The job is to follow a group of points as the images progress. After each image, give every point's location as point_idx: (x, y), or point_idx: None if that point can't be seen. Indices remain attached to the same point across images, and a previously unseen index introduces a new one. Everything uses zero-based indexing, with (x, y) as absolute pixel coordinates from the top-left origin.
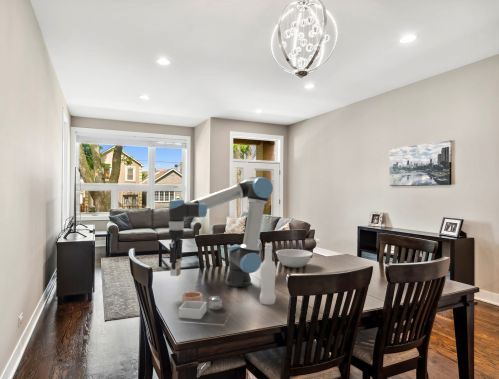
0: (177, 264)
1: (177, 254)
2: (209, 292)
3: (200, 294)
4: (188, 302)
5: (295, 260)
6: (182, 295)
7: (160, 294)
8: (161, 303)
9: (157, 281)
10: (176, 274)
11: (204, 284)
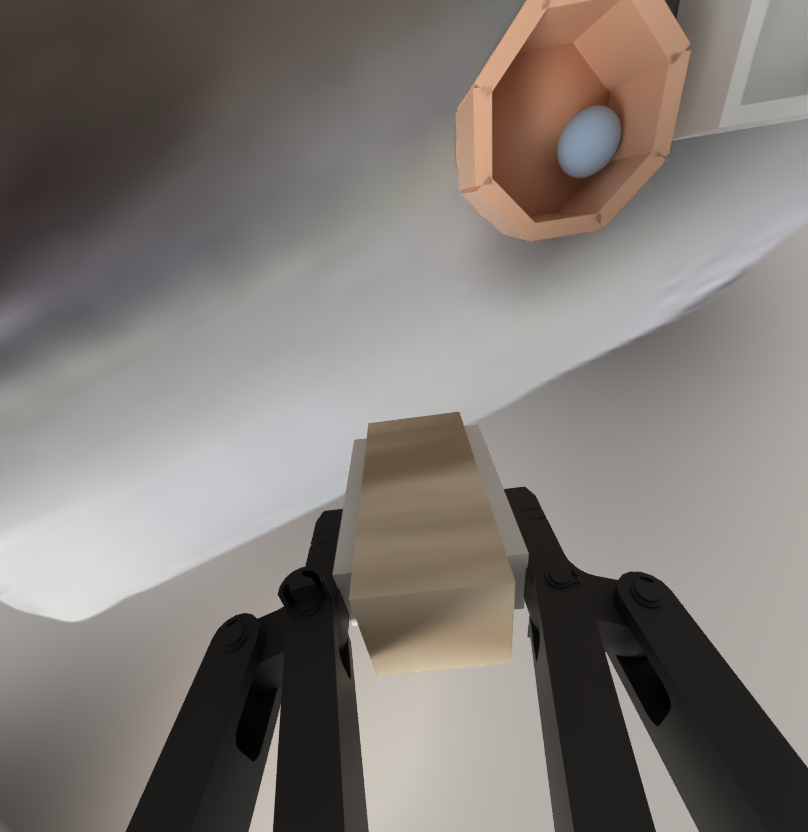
0: (494, 524)
1: (350, 749)
2: (156, 134)
3: (562, 3)
4: (735, 86)
5: None
6: (598, 230)
7: None
8: (520, 386)
9: (196, 564)
10: (478, 432)
11: (10, 293)
